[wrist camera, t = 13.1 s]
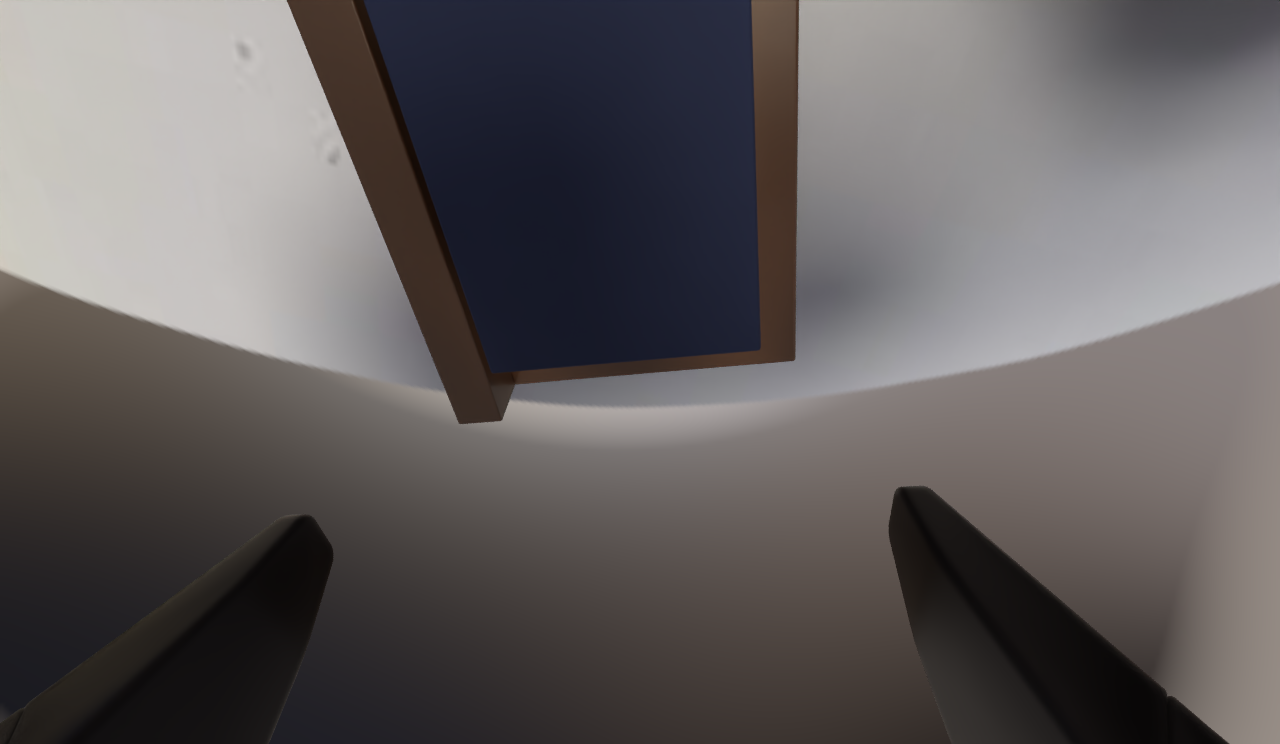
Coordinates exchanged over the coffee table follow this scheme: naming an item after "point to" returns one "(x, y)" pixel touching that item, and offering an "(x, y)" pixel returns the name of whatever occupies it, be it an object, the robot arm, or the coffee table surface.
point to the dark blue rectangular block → (587, 170)
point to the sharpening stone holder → (417, 242)
